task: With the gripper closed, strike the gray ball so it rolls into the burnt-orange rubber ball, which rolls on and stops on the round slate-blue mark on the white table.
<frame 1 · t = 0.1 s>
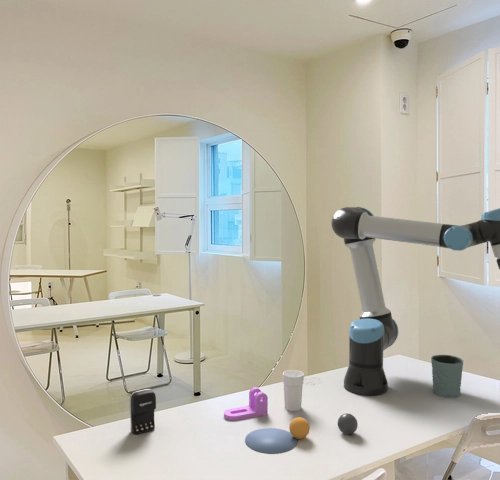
bracket: (244, 415, 147), on the table
gray ball: (347, 423, 134), on the table
teal tapered pot: (446, 393, 165), on the table
battery charger: (143, 431, 136), on the table
cup: (293, 408, 152), on the table
object ball: (299, 428, 132), on the table
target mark: (270, 440, 130), on the table
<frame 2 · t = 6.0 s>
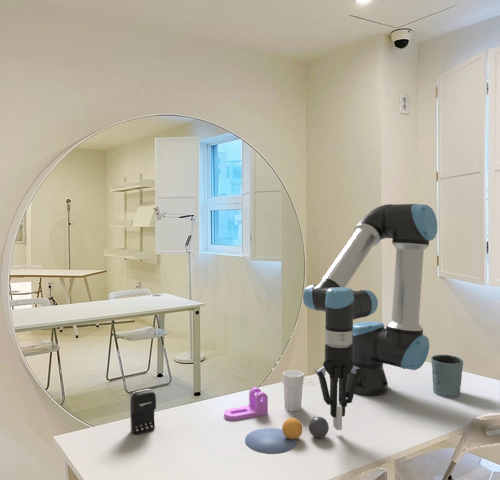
hand: (337, 427, 134), 2 cm above the table, tool pointing down, fingers closed
gray ball: (318, 427, 132), on the table
object ball: (292, 428, 131), on the table
everything else where it was.
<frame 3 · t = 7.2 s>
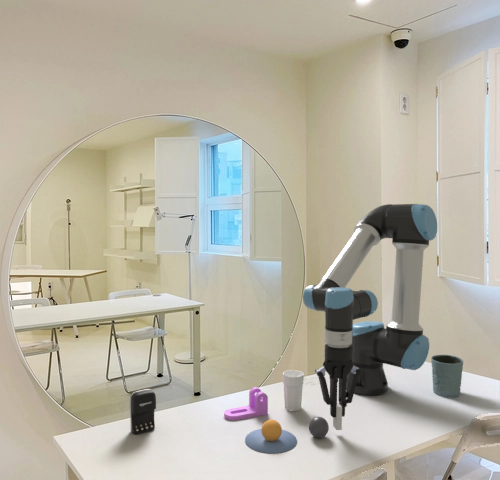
hand: (337, 427, 134), 2 cm above the table, tool pointing down, fingers closed
object ball: (271, 430, 130), on the table
everything else where it was.
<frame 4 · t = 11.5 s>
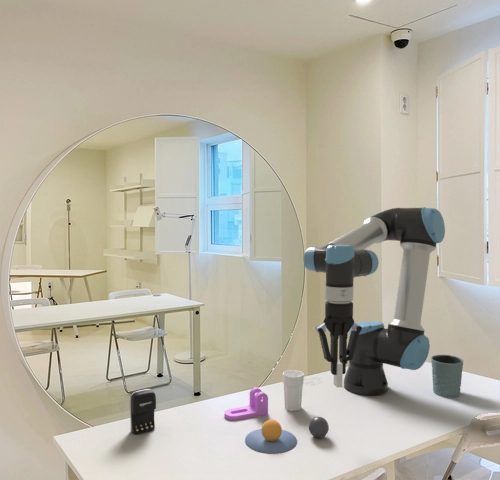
hand: (337, 385, 133), 14 cm above the table, tool pointing down, fingers closed
nothing on the table moved.
at the end: object ball 0.2 cm from the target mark (horizontally); object ball never touched the robot; gray ball first touched object ball at 5.8 s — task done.
